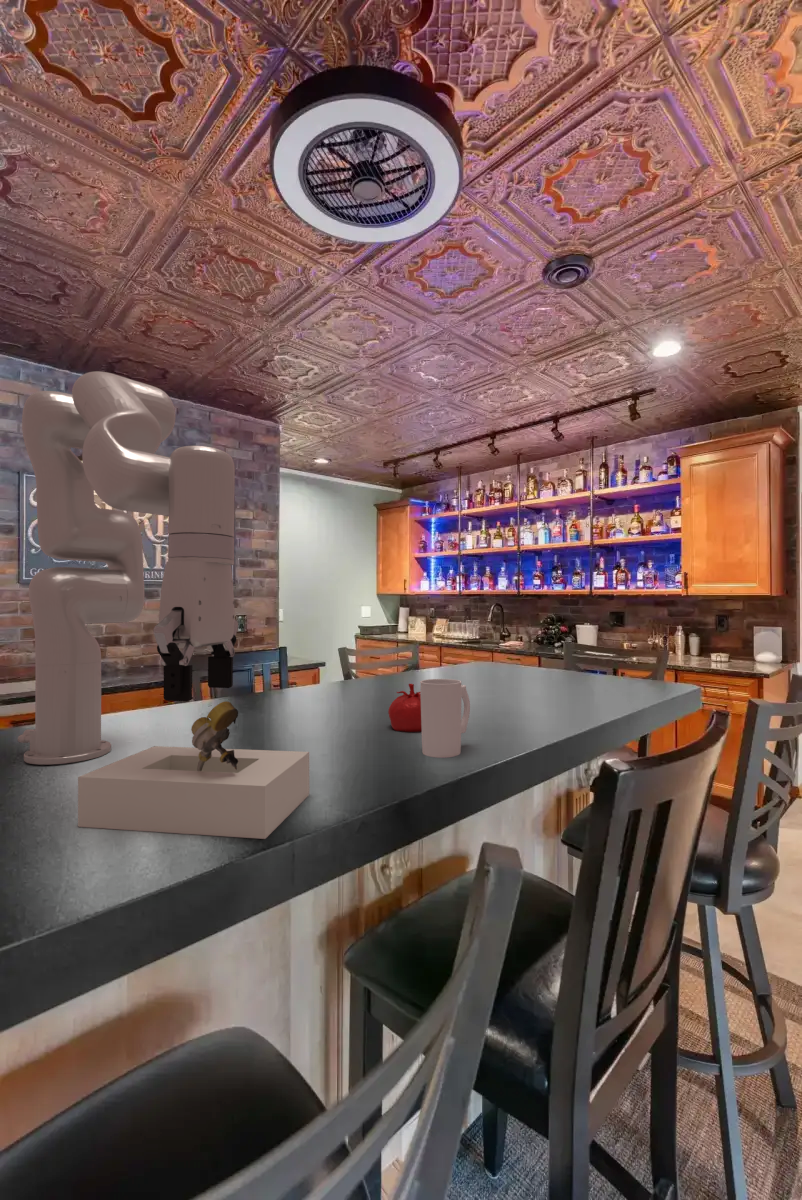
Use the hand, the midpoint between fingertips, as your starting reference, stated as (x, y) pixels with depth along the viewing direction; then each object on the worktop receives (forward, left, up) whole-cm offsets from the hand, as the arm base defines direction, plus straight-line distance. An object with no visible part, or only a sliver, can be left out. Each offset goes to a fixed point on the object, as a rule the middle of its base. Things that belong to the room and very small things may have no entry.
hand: (200, 693), depth 67 cm
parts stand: (0, 0, -14) cm, 14 cm away
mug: (+27, +30, -14) cm, 43 cm away
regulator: (0, 0, -14) cm, 14 cm away
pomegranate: (+19, +46, -14) cm, 52 cm away
